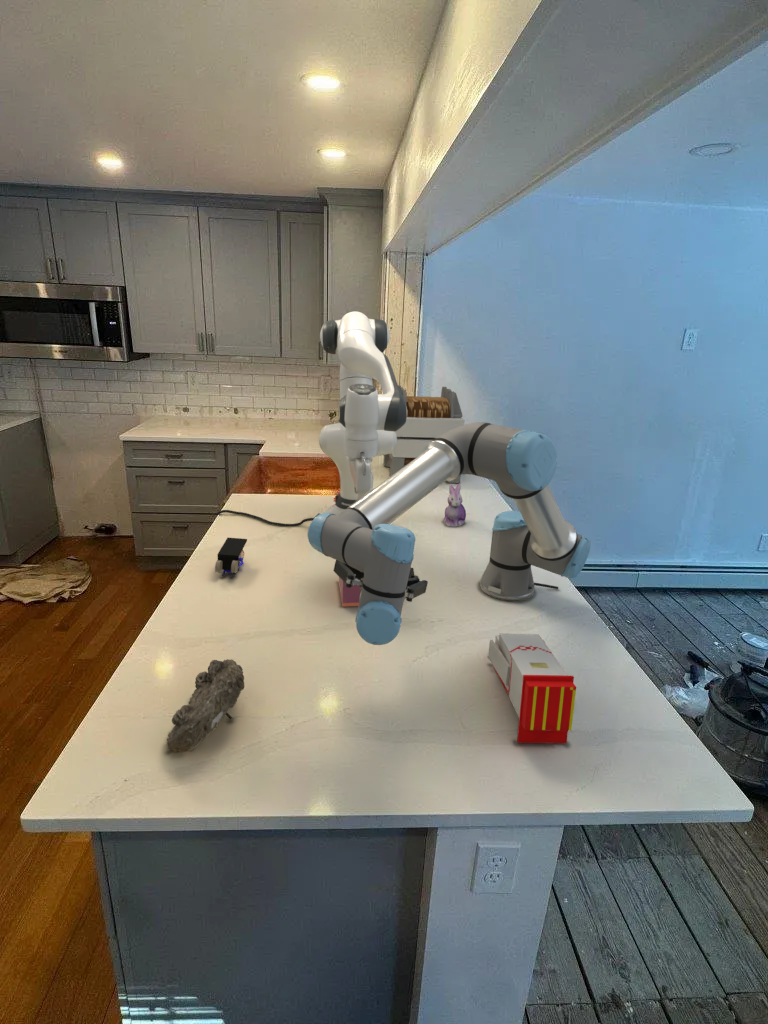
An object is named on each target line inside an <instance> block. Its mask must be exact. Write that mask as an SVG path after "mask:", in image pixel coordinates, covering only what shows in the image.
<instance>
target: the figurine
mask: <svg viewBox="0 0 768 1024" xmlns="http://www.w3.org/2000/svg"><path fill="white" fill-rule="evenodd" d="M461 487H462V485H461V483H457V485H456V486H455V487H454V486H453V485H452V483H449V485H448V491H449V494H448V496H447V503H448V505H447V506H446V507H445V509H444V518H443V523H444V524H445V525H446V526H447V527H453V528H455V527H460V526H463V525H464V524H465V522H466V519H467V512H466V509H465V506H464V505H463V504H462V503H463V497H462V495H461Z"/></svg>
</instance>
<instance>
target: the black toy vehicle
mask: <svg viewBox="0 0 768 1024" xmlns="http://www.w3.org/2000/svg"><path fill="white" fill-rule="evenodd" d="M247 542H248V538H240V537H226V539H225V541H224V543H223V544H222V546H221V547H220V549H219V551H218V552H217V560H216V562H215V564H214V572H215V573H221V577H222V578H224V577H225V576H226V574H227V573H230V574H231V573H232V574H231V578H234V577H235V575H236V573H237V572H239V571H240V567H242V566H243V565H244V564H245V562H244V558H245V551H244V547H245V546H246V544H247Z"/></svg>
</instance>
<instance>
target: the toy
mask: <svg viewBox="0 0 768 1024" xmlns="http://www.w3.org/2000/svg"><path fill="white" fill-rule="evenodd" d="M487 659H488V661H489V662H490V663H491V666H492V668H493V670H494V671H495V673H496V676H497V678H498V679H499V681H500V682H501V685H502V686H503V689H504V690H505V692H506V694H507V695H508V698H509V700H510V702H511V705H512V706H513V708H514V711H515V713H516V715H517V717H518V728H517V741H516V742H517V743H518V744H567V743H568V734H569V732H570V731H573V720H574V711H575V704H576V696H577V695H576V694H577V686H576V685H575V683H574V681H575V676H574V675H569V674H568V673H567V671H566V670H565V669H564V667H563V666H562V664H560V662H559V661H558V659H557V657H556V656H555V655H554V653H553V651H552V650H551V649H550V648H549V646H548V644H547V643H546V641H545V639H543V638H542V636H541V635H540V633H503V632H501V633H499V634H496V635H495V639H494V640H493V639H489V644H488V652H487Z"/></svg>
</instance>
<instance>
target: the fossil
mask: <svg viewBox="0 0 768 1024" xmlns="http://www.w3.org/2000/svg"><path fill="white" fill-rule="evenodd" d="M243 670H244V669H243V667H242V665H240V664H237V662H236V661H235V660H234V659H232V658H231V659H227V658H226V659H224V660H223V661H222V660H217V659H212V660H211V661H210V663H209V665H208V666H207V671H201V672H199V673H198V674H197V675H196V676H195V680H194V684H195V685H194V687H195V689H194V690H193V693H192V694H191V697H190V698H189V700H188V704H184V705H182V706H181V707H180V709H177V710H176V711H175V713H174V715H173V716H172V718H171V723H172V724H173V727H172V730H171V731H170V732H168V734H167V738H166V741H167V742H166V745H167V749H168V750H169V751H173V752H174V753H176V754H178V753H182V752H188V751H189V752H192V751H193V750H195V748H196V747H197V746H199V744H200V743H201V742H203V741H204V740H205V739H206V738H207V737H208V736H209V735H210V734H211V733H212V732H214V730H215V729H217V727H218V726H219V724H220V722H221V721H222V720H223V719H224V718H225V716H226V717H227V719H229V720H233V717H232V715H230V714H229V710H230V709H231V708H234V706H235V704H236V703H237V702H238V699H239V697H240V695H241V693H242V691H243V690H245V689H244V688H245V675H244V671H243Z"/></svg>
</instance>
